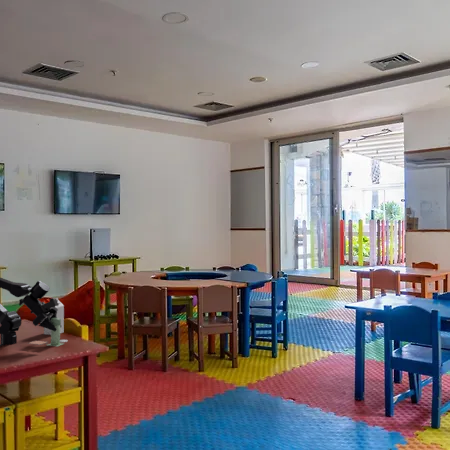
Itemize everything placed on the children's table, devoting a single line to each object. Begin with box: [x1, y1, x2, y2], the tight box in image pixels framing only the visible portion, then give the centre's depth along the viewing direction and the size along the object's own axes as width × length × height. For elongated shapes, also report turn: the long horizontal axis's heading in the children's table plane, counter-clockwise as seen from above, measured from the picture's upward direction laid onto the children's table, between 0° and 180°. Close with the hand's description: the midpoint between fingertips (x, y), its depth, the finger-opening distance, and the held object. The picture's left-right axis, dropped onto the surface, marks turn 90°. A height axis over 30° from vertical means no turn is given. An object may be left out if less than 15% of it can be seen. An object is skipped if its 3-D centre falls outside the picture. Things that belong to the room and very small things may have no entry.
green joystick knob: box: [50, 318, 61, 345], centre depth 229 cm, size 4×4×12 cm
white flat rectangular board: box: [27, 339, 68, 348], centre depth 233 cm, size 18×14×1 cm
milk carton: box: [43, 297, 65, 336], centre depth 253 cm, size 7×7×19 cm
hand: (58, 329), depth 229 cm, fingers open, 6 cm apart
